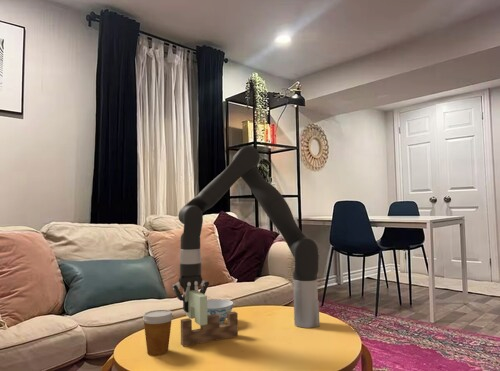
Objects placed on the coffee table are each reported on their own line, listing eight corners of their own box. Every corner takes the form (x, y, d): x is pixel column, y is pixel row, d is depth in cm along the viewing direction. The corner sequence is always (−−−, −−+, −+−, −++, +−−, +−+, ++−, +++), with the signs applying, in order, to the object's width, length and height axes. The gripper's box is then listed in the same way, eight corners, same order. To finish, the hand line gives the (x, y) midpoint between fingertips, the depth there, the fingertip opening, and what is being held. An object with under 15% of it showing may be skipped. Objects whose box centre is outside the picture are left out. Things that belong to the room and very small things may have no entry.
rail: (234, 334, 133) (234, 311, 133) (237, 336, 130) (237, 312, 131) (180, 344, 123) (180, 319, 124) (183, 346, 121) (182, 321, 122)
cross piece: (186, 315, 131) (186, 289, 131) (192, 314, 132) (192, 288, 133) (200, 325, 118) (199, 296, 119) (207, 324, 120) (207, 295, 120)
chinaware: (204, 331, 137) (204, 310, 137) (190, 321, 150) (190, 302, 150) (240, 324, 144) (239, 304, 145) (223, 316, 157) (223, 297, 158)
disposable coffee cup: (179, 349, 119) (179, 310, 120) (160, 359, 110) (160, 318, 111) (155, 345, 123) (155, 308, 124) (135, 355, 114) (135, 315, 115)
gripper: (205, 259, 138) (205, 306, 137) (168, 262, 132) (168, 311, 130) (212, 261, 132) (213, 311, 130) (174, 264, 125) (174, 316, 124)
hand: (190, 311), depth 130 cm, fingers closed on cross piece, 2 cm apart
